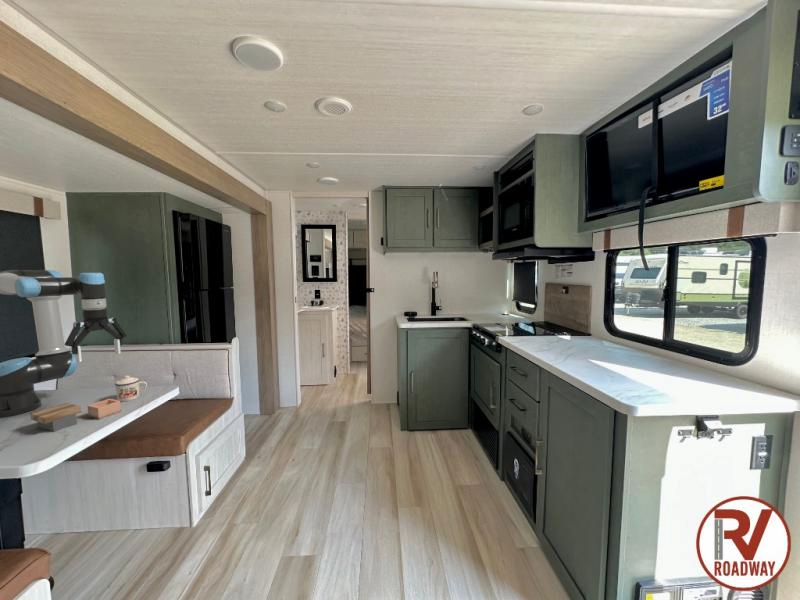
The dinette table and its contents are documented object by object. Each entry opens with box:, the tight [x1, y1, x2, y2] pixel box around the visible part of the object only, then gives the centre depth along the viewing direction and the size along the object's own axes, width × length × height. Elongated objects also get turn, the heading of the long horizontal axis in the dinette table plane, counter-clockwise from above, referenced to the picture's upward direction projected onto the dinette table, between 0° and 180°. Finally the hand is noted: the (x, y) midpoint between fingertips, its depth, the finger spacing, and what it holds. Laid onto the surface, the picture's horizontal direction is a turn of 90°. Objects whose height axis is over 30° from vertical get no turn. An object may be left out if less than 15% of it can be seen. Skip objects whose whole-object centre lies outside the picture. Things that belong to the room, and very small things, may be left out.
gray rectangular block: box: [37, 414, 78, 432], centre depth 130 cm, size 12×7×4 cm, turn 69°
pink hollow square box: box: [87, 398, 122, 420], centre depth 140 cm, size 8×8×5 cm
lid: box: [30, 402, 83, 424], centre depth 130 cm, size 11×11×2 cm
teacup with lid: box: [114, 374, 148, 403], centre depth 158 cm, size 12×9×12 cm
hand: (99, 357), depth 137 cm, fingers open, 13 cm apart
